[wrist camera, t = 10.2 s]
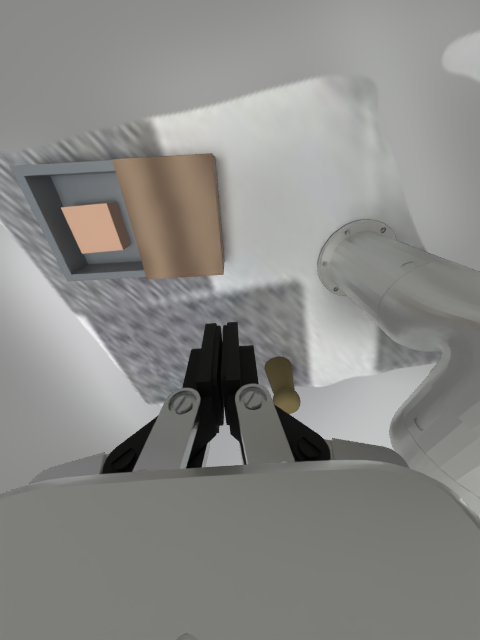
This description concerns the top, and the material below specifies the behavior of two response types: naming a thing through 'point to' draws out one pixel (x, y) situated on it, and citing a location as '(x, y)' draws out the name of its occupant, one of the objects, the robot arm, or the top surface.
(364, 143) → the top surface
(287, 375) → the cork
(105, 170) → the box
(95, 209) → the terracotta block
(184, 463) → the robot arm
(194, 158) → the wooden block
